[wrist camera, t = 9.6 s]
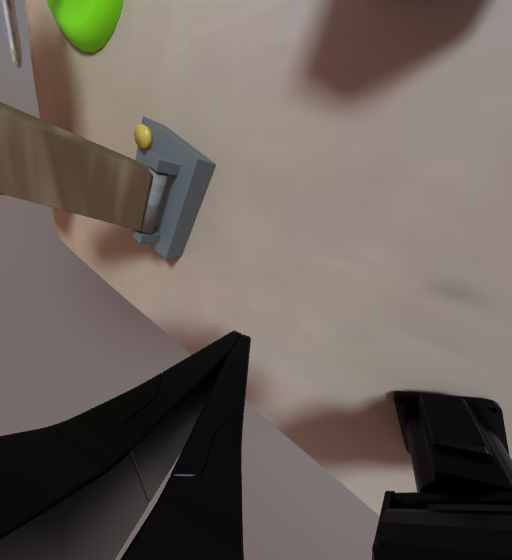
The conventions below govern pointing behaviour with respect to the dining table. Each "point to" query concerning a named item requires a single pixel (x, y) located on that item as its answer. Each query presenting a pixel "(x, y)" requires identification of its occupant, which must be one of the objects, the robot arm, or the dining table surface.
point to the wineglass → (86, 21)
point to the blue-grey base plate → (172, 185)
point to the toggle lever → (75, 173)
